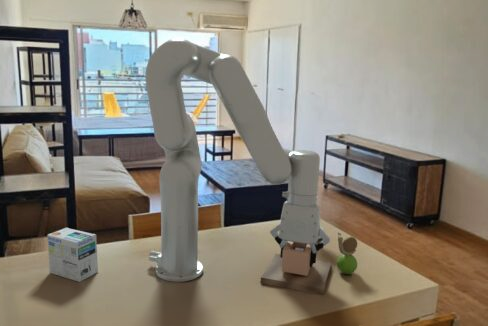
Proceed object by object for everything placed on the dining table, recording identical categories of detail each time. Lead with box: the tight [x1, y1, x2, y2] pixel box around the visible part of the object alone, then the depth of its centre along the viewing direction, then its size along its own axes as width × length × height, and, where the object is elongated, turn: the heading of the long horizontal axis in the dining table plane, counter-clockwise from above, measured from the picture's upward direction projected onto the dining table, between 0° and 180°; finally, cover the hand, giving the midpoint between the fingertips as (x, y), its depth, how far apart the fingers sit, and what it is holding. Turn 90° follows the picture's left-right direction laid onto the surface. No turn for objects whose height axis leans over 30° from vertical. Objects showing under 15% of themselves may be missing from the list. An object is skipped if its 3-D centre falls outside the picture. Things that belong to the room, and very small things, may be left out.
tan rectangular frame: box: [281, 241, 311, 276], centre depth 116 cm, size 7×9×6 cm
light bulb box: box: [47, 227, 99, 283], centre depth 113 cm, size 11×7×11 cm, turn 65°
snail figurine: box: [336, 232, 358, 275], centre depth 118 cm, size 5×6×12 cm
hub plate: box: [260, 247, 332, 295], centre depth 117 cm, size 16×16×7 cm
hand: (297, 262), depth 117 cm, fingers closed on tan rectangular frame, 6 cm apart
